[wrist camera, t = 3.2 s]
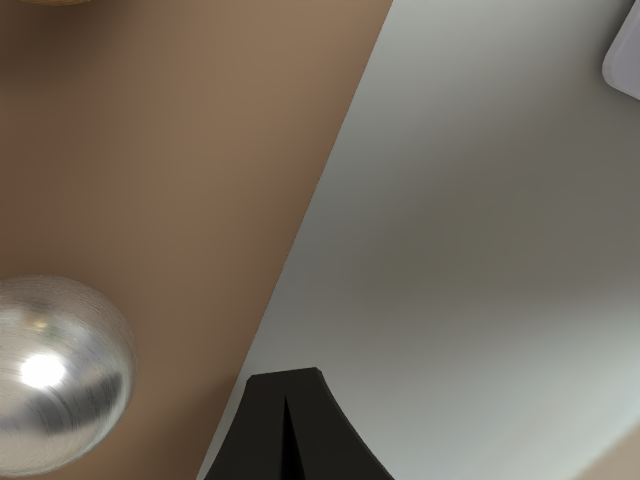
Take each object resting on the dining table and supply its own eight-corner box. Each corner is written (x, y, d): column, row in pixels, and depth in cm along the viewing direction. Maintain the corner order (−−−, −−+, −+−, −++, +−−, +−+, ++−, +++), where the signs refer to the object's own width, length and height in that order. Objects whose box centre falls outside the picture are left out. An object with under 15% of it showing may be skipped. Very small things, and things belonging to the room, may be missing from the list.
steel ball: (173, 275, 10) (140, 377, 7) (128, 407, 11) (84, 543, 8) (-7, 221, 10) (-122, 312, 7) (-37, 367, 11) (-150, 502, 8)
